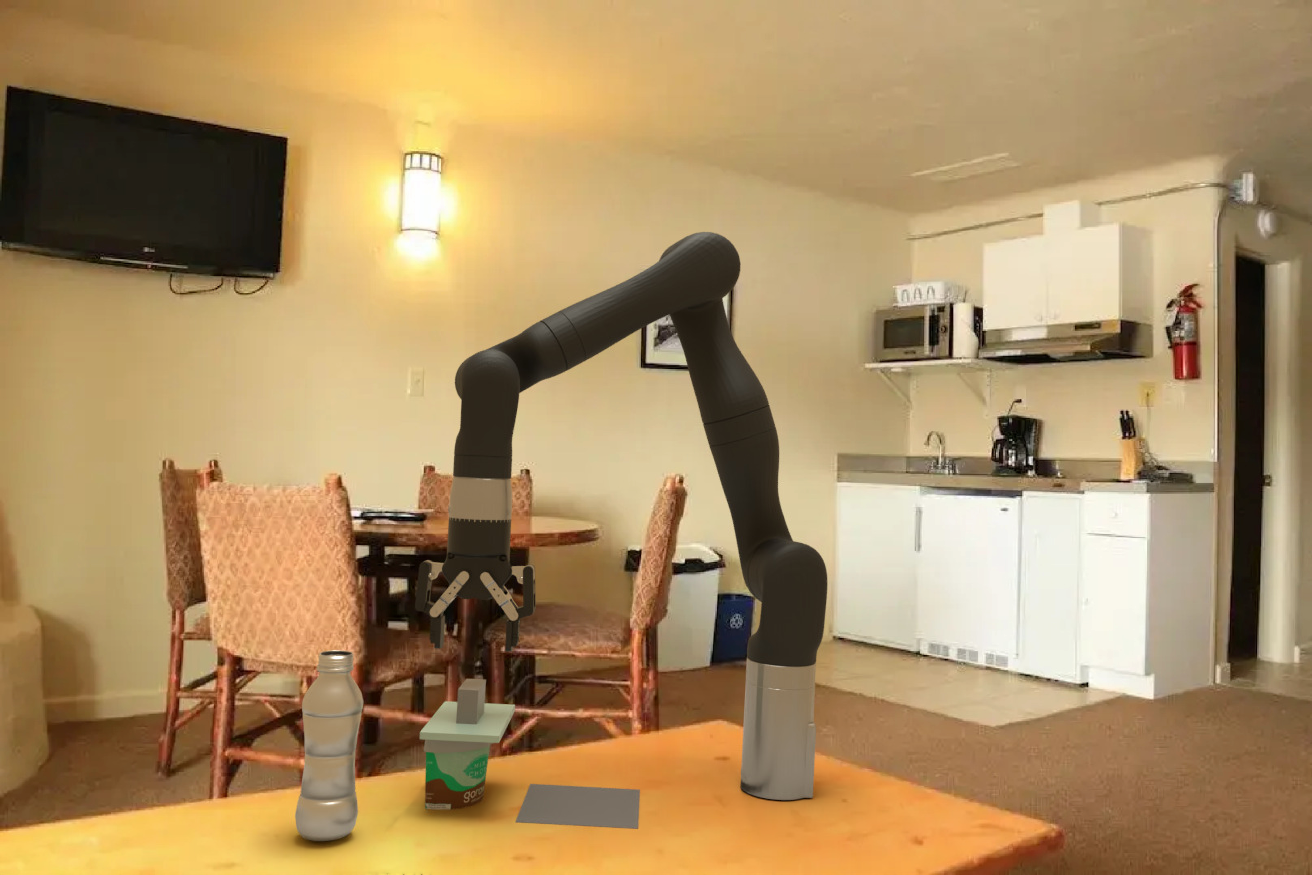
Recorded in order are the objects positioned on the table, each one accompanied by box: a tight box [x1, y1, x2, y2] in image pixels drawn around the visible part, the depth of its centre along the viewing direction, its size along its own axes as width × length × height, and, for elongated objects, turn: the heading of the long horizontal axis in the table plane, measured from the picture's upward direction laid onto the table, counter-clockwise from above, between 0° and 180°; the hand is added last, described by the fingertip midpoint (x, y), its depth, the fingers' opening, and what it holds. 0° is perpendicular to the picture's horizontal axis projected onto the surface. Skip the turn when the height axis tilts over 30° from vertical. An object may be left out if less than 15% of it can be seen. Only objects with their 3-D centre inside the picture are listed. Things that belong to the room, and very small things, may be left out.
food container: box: [423, 739, 494, 811], centre depth 124 cm, size 12×6×10 cm, turn 169°
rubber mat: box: [515, 783, 641, 830], centre depth 123 cm, size 14×14×1 cm
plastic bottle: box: [294, 649, 364, 842], centre depth 112 cm, size 6×7×20 cm
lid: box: [419, 678, 516, 744], centre depth 124 cm, size 9×15×5 cm, turn 1°
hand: (473, 649), depth 124 cm, fingers open, 8 cm apart
